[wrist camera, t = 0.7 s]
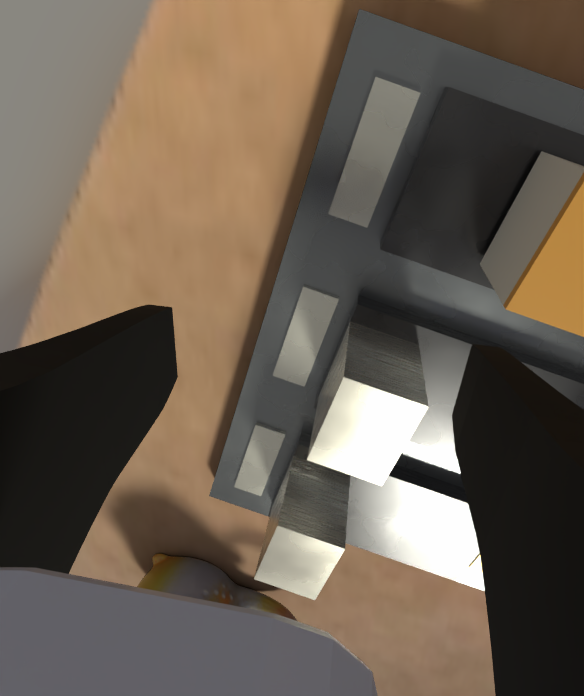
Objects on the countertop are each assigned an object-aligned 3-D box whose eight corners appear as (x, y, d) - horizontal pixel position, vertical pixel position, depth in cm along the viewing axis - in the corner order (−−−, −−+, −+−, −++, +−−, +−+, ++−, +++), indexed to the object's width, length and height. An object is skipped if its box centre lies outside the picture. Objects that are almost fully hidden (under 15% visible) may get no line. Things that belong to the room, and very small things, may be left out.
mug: (152, 599, 36) (110, 698, 30) (142, 541, 32) (91, 640, 27) (307, 629, 34) (293, 738, 29) (314, 571, 31) (299, 683, 25)
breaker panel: (849, 189, 16) (1097, 244, 11) (495, 577, 28) (524, 698, 23) (360, 13, 16) (351, -25, 10) (215, 480, 28) (175, 578, 23)
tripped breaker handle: (629, 182, 15) (704, 211, 12) (557, 291, 17) (602, 343, 14) (541, 151, 15) (590, 170, 12) (479, 264, 17) (505, 309, 14)
